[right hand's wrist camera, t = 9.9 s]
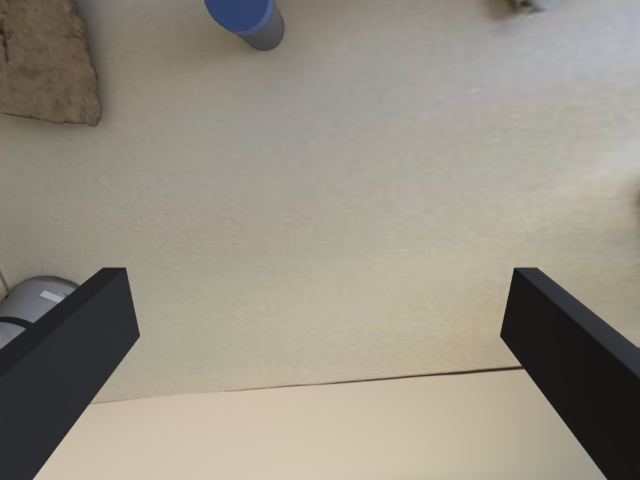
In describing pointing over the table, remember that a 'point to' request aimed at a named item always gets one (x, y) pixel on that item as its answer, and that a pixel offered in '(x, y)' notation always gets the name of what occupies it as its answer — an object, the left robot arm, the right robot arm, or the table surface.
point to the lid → (240, 14)
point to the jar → (268, 32)
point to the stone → (46, 63)
